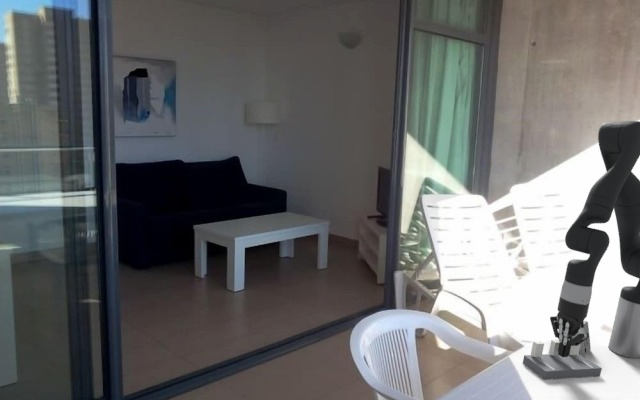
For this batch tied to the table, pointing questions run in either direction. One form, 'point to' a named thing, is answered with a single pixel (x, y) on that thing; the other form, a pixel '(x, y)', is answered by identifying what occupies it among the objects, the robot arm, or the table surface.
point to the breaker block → (561, 366)
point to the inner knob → (575, 350)
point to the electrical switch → (585, 342)
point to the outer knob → (537, 349)
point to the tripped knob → (554, 347)
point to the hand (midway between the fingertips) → (562, 356)
